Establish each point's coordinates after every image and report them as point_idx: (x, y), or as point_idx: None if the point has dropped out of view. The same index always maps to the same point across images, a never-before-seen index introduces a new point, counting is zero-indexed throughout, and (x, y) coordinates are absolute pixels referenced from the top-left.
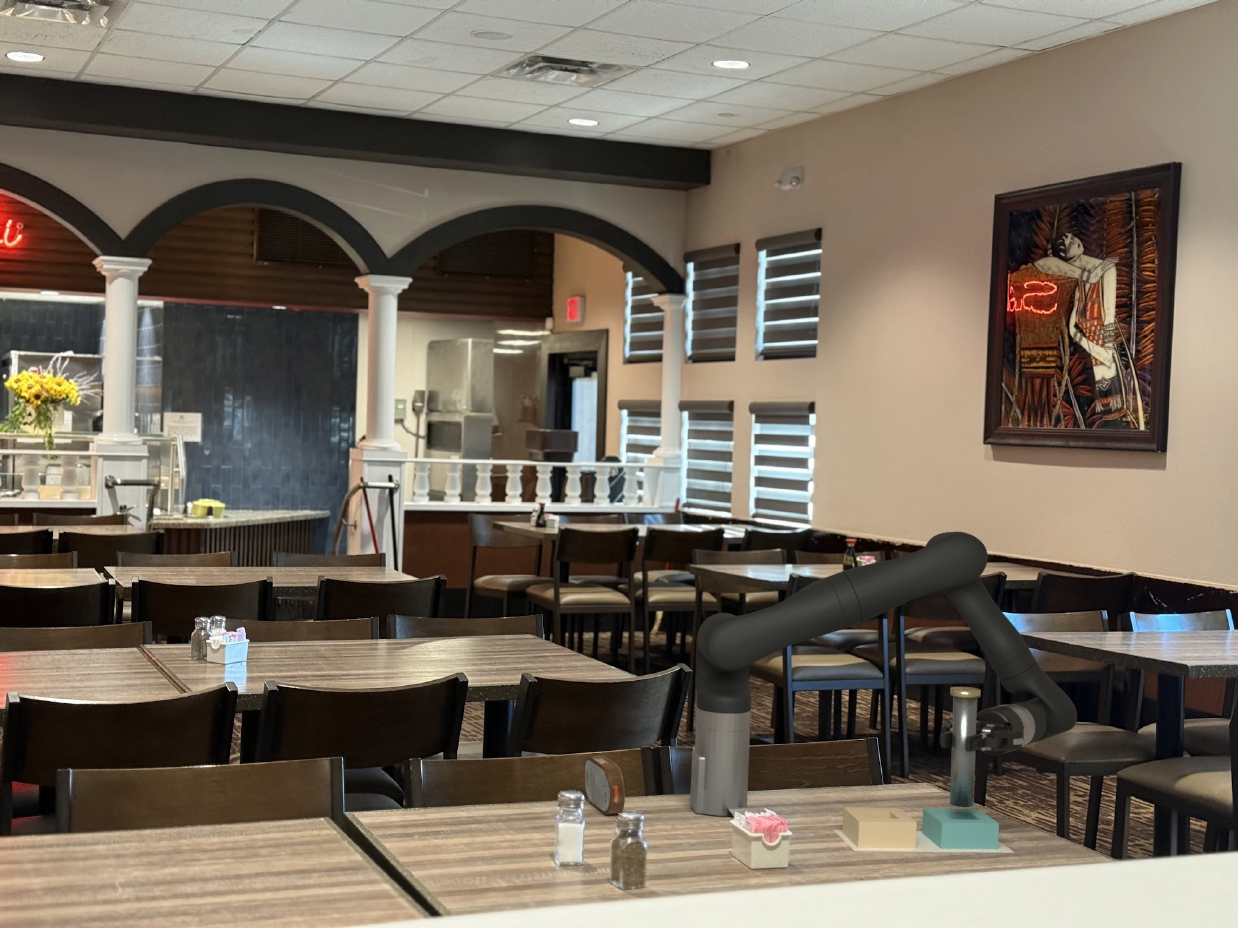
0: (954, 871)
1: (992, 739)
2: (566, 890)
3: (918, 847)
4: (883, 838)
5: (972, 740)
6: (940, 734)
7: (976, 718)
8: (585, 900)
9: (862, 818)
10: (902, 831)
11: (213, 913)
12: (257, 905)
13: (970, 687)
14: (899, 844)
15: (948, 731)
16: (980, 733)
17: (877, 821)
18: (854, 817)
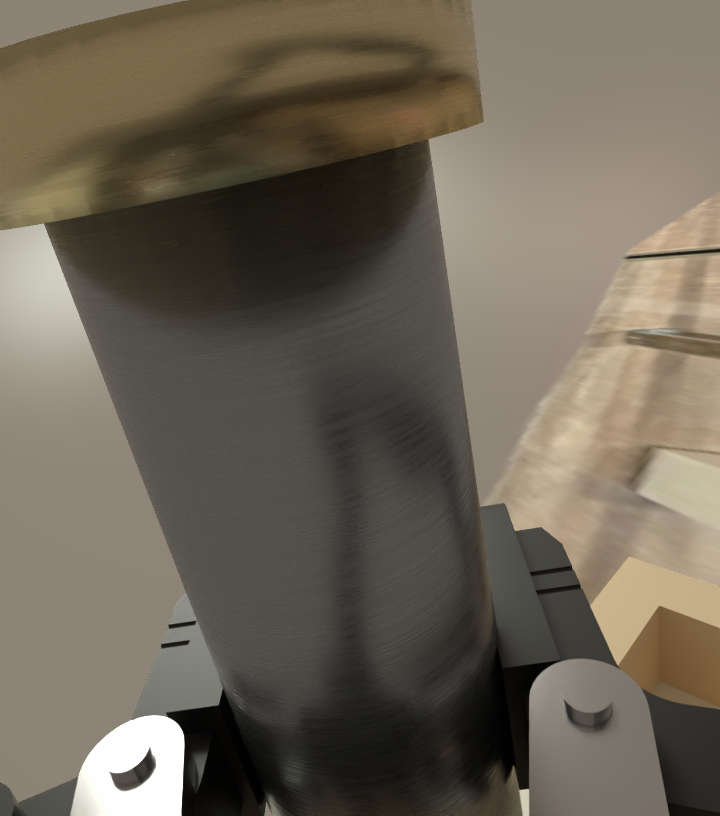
0: None
1: (33, 804)
2: (656, 304)
3: (528, 805)
4: None
5: None
6: (555, 541)
7: (165, 537)
8: (606, 309)
9: (664, 588)
10: None
11: (705, 208)
12: (717, 214)
13: (163, 13)
14: None
15: (529, 583)
16: (177, 749)
17: (601, 600)
18: (692, 578)
